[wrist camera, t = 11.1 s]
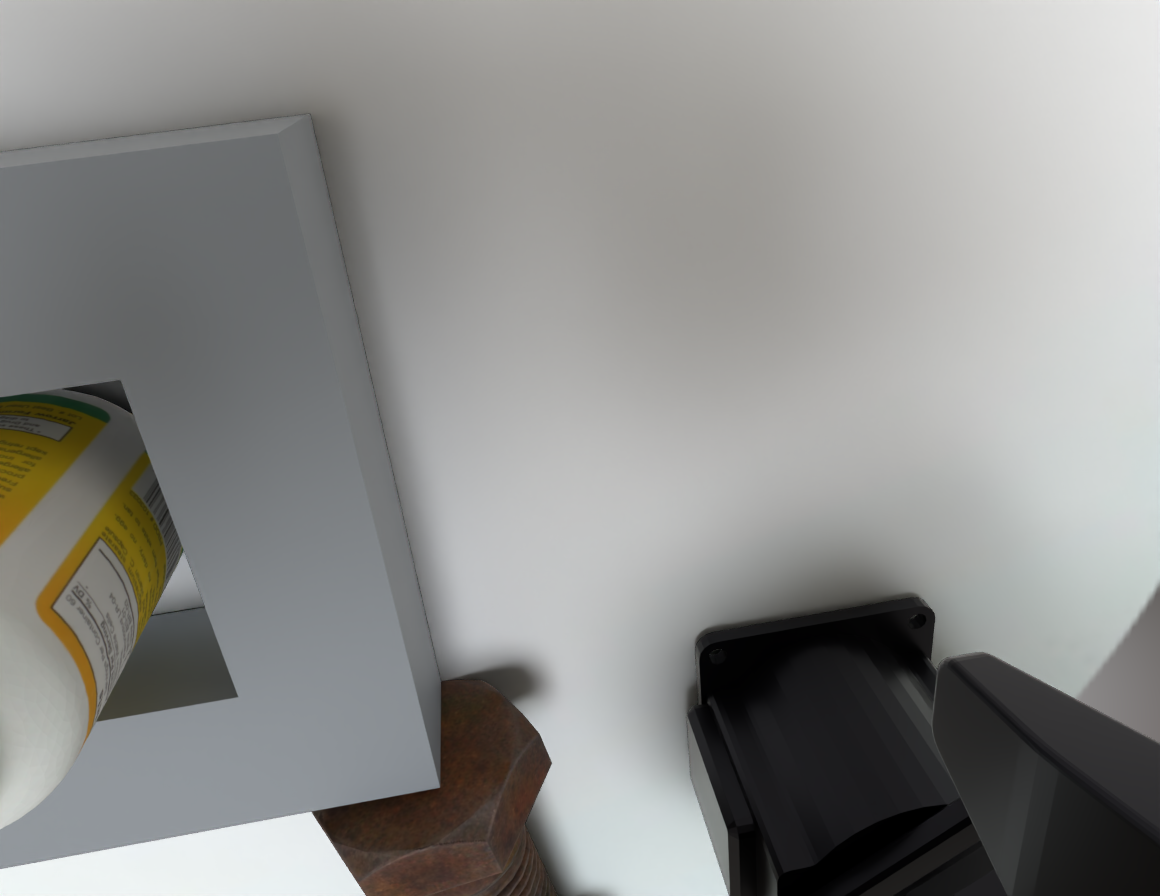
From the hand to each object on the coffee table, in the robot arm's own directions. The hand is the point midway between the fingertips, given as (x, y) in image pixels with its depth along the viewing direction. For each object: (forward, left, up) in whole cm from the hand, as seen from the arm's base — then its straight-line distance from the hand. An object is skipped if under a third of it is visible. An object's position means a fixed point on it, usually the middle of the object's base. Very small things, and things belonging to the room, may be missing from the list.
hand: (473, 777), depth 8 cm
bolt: (+1, +17, -12) cm, 21 cm away
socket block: (+9, +2, -12) cm, 15 cm away
